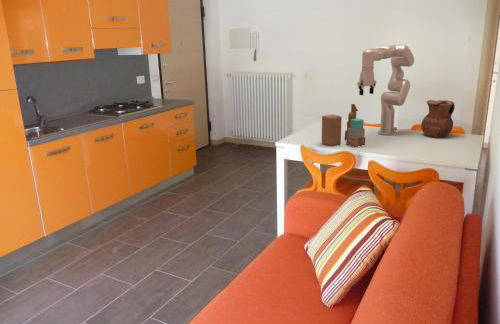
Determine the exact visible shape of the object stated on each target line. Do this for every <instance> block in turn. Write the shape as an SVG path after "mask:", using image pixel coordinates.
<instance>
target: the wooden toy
mask: <svg viewBox="0 0 500 324" xmlns="http://www.w3.org/2000/svg"><path fill="white" fill-rule="evenodd" d="M350 105H351V106H350V111H349V113H348V115H347V116H348V119H347V122H346V130H345V131H344V140H346V137H347V131H348V128H350V125H351V119H357V112H358V111H359V110H358V108H357V106H356V104H355V103H351V104H350ZM361 119H362V118H361ZM362 120H364V119H362Z"/></svg>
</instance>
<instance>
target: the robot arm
mask: <svg viewBox="0 0 500 324" xmlns="http://www.w3.org/2000/svg"><path fill="white" fill-rule="evenodd" d="M361 56H362V57H361V59H362V61H361V62H362V63H361V71H360V73H359V74H360V75H359V81H358V82H356V83H357V84H356V85H357V87H358V91H359V92H358V93H359V96H364V91H365V90H364V88H365V87H369V91H368V92H369V95H374V90H375V88H376V84H377V83H378V82H377V80H376V79H375V71H374V69H375V68H374V63H375V62H379V61H382V60H387V59H390V65H391V69H392V70H391V71H392V73H391V75H390V79H389V80H388V83H387V91H385V92H382V94H381V95H380V102H381V103H380V104H381V112H380V128H379V130H378V131H377V134H379V135H381V136H394V135H396V131H397V130H398V127H397V126H395V110H396V109H395V108H394V106H399V107H400V106H403V105H404V104H405V101H406V99H407V97H408V94H409V92H410V89H411V82H410V80H408V79H405V78H404V76H405V73H404V70H403V68H404V67H407V68H409V67H412V66H413V65H414V64H415V57H414V54H413V52H412V51H411V49H410V47H409V46H408V45H406V44H392V45H387V46H380V47H372V48H367V49H364V50H363V51H362V54H361ZM402 67H403V68H402ZM394 126H395V127H394Z"/></svg>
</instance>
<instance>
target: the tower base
mask: <svg viewBox="0 0 500 324" xmlns="http://www.w3.org/2000/svg"><path fill="white" fill-rule="evenodd" d="M348 145H350V146H349V147H352V146H354V147H353V148H355V147H356V148H359V147H358V146H360V147H363V146H362V145H365V146H366V136H364V137H362V138H358V139H354V138H350V137H346V139H345V146H348Z"/></svg>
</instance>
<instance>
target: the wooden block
mask: <svg viewBox="0 0 500 324" xmlns="http://www.w3.org/2000/svg"><path fill="white" fill-rule="evenodd" d="M341 143H342V116H341V115H338V114H327V115H322V117H321V144H323V145H326V146H329V147H332V146H339V145H340V144H341Z"/></svg>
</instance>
